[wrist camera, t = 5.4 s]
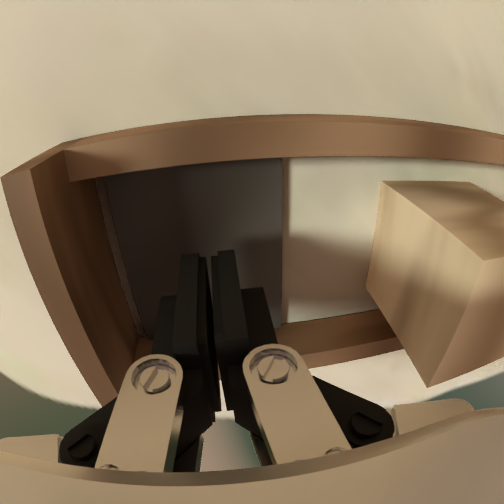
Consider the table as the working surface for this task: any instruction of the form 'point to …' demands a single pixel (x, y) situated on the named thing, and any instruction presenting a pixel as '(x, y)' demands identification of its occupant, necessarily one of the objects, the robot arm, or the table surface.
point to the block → (440, 274)
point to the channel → (194, 224)
